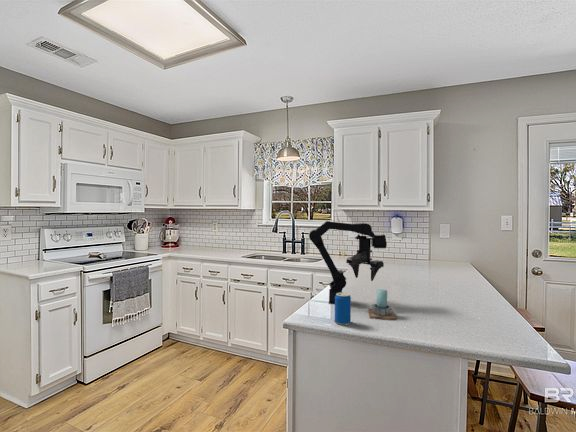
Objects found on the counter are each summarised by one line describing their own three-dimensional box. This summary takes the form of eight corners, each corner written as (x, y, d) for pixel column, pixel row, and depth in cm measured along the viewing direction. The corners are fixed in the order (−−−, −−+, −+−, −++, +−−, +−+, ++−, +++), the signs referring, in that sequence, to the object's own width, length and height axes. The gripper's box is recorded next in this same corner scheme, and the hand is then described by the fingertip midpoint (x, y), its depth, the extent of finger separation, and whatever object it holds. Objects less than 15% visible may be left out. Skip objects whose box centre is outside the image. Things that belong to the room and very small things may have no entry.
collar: (372, 315, 141) (372, 308, 141) (371, 309, 150) (371, 303, 150) (392, 316, 140) (392, 309, 140) (390, 310, 148) (390, 304, 148)
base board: (369, 318, 140) (369, 316, 140) (368, 310, 151) (368, 308, 151) (396, 320, 138) (396, 317, 138) (392, 312, 149) (392, 310, 149)
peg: (376, 314, 143) (377, 291, 143) (376, 310, 147) (376, 289, 147) (387, 314, 142) (387, 292, 142) (386, 311, 147) (386, 289, 146)
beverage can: (339, 319, 139) (340, 291, 139) (353, 322, 135) (353, 293, 135) (331, 323, 134) (332, 294, 134) (345, 326, 130) (345, 297, 130)
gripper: (339, 247, 164) (339, 278, 165) (371, 251, 150) (370, 285, 151) (353, 246, 172) (352, 275, 172) (384, 249, 158) (384, 281, 158)
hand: (364, 279), depth 163 cm, fingers open, 9 cm apart
